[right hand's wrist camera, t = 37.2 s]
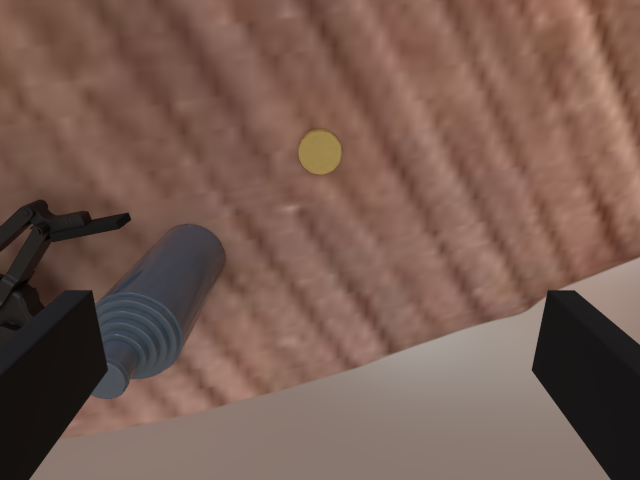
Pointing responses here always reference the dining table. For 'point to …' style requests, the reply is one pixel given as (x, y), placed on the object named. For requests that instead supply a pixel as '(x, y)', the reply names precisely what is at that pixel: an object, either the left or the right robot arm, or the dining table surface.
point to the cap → (320, 151)
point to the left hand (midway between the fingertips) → (148, 284)
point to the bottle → (156, 306)
